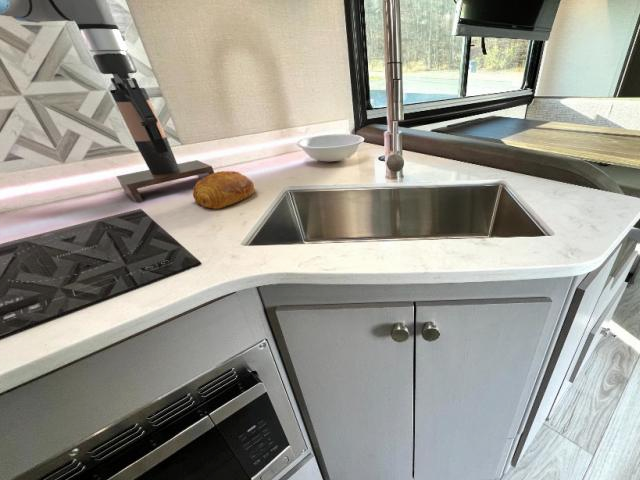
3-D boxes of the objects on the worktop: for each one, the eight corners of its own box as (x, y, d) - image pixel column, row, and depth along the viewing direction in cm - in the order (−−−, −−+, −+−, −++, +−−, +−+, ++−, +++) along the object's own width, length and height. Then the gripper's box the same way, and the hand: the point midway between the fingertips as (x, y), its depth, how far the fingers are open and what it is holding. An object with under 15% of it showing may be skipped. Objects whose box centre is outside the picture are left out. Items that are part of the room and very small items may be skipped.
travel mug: (182, 166, 96) (148, 87, 84) (177, 172, 90) (139, 89, 78) (154, 169, 94) (115, 89, 82) (146, 176, 88) (104, 91, 76)
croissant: (267, 201, 90) (262, 171, 86) (218, 213, 78) (210, 179, 73) (231, 193, 95) (225, 165, 91) (180, 204, 83) (171, 171, 78)
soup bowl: (295, 157, 122) (291, 138, 118) (354, 149, 129) (352, 131, 125) (308, 172, 104) (303, 151, 100) (375, 162, 112) (373, 142, 108)
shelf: (136, 203, 86) (126, 184, 83) (125, 193, 92) (116, 176, 89) (218, 182, 98) (211, 166, 95) (203, 176, 105) (197, 160, 102)
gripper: (142, 51, 71) (184, 152, 84) (117, 54, 85) (156, 141, 98) (102, 51, 67) (153, 158, 80) (82, 55, 80) (128, 145, 93)
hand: (155, 149), depth 89 cm, fingers open, 13 cm apart
